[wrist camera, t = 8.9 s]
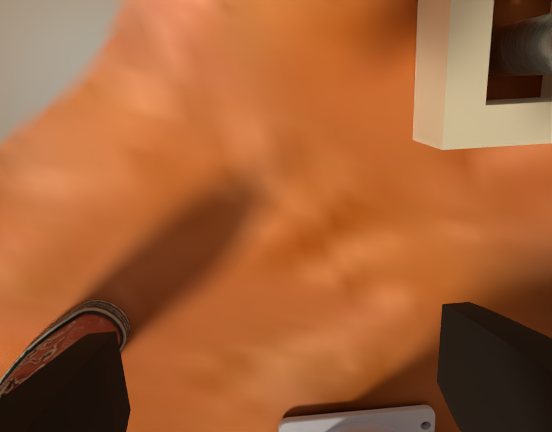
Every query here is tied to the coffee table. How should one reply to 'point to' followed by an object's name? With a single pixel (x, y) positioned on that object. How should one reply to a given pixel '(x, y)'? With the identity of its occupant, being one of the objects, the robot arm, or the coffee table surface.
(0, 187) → the coffee table surface
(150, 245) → the coffee table surface
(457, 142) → the block with square hole
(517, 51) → the metal peg
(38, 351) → the lighter
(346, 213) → the coffee table surface
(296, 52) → the coffee table surface
